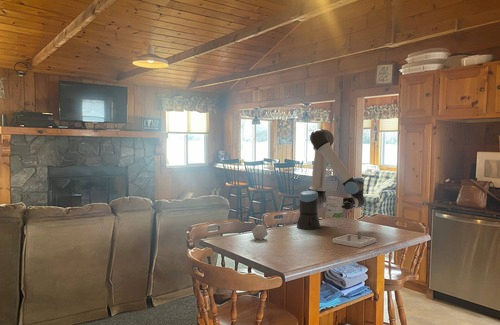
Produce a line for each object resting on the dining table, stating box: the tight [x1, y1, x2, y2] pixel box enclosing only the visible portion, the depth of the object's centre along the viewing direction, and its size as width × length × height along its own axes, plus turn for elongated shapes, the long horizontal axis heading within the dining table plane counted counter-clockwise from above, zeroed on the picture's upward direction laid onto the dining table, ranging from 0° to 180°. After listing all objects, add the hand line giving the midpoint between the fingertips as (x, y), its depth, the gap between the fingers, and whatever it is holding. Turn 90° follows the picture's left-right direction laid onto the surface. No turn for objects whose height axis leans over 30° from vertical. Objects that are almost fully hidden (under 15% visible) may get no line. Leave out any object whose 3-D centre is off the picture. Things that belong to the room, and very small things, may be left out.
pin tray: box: [332, 231, 377, 248], centre depth 206 cm, size 16×18×5 cm
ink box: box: [326, 196, 344, 219], centre depth 225 cm, size 9×5×12 cm, turn 39°
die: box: [251, 224, 269, 241], centre depth 213 cm, size 8×9×10 cm
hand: (330, 206), depth 222 cm, fingers closed on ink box, 9 cm apart
